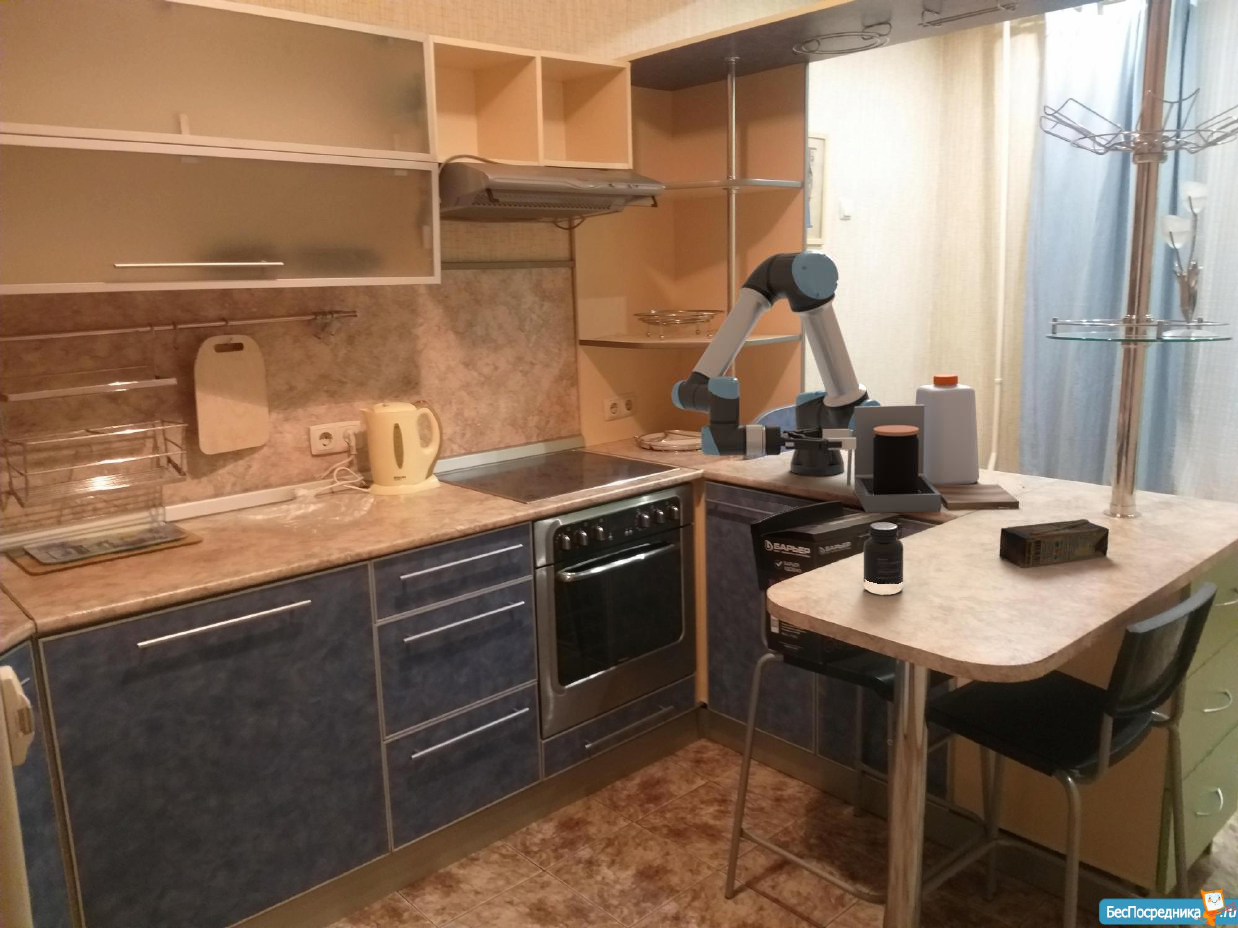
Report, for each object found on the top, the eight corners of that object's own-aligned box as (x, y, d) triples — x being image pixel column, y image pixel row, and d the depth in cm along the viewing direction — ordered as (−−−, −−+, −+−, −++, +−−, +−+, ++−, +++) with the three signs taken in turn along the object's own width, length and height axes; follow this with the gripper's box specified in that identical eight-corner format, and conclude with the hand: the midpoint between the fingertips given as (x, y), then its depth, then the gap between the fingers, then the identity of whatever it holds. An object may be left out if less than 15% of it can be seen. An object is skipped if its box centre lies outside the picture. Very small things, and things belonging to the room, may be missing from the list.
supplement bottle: (858, 585, 170) (858, 521, 168) (894, 582, 171) (895, 519, 168) (871, 597, 164) (871, 531, 161) (909, 594, 164) (909, 528, 162)
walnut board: (932, 491, 237) (932, 485, 237) (997, 490, 235) (997, 484, 234) (947, 508, 219) (947, 502, 219) (1018, 507, 217) (1019, 501, 217)
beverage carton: (1110, 558, 179) (1111, 524, 178) (1023, 570, 175) (1024, 536, 173) (1080, 547, 187) (1081, 515, 185) (996, 558, 182) (997, 526, 181)
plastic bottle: (930, 488, 240) (932, 380, 234) (904, 476, 255) (905, 374, 249) (985, 483, 242) (988, 376, 237) (955, 472, 257) (958, 370, 251)
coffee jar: (913, 495, 234) (913, 424, 231) (922, 505, 224) (923, 431, 220) (869, 496, 235) (869, 425, 232) (876, 506, 225) (877, 433, 221)
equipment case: (846, 486, 247) (846, 404, 242) (918, 485, 244) (919, 401, 240) (859, 512, 220) (859, 420, 216) (940, 511, 218) (942, 418, 213)
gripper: (762, 446, 243) (846, 445, 240) (765, 464, 218) (858, 463, 216) (762, 417, 241) (846, 416, 239) (765, 432, 217) (859, 431, 214)
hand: (852, 438), depth 227 cm, fingers open, 13 cm apart
